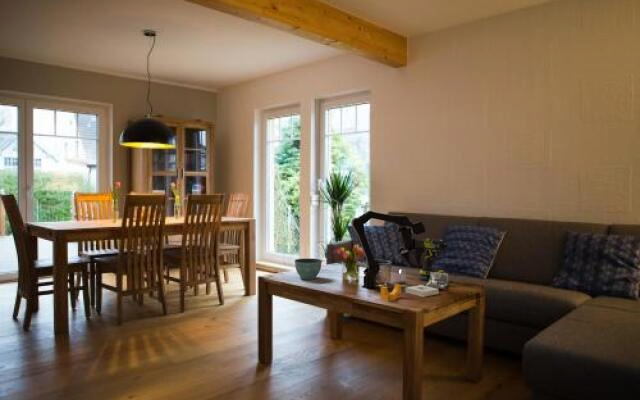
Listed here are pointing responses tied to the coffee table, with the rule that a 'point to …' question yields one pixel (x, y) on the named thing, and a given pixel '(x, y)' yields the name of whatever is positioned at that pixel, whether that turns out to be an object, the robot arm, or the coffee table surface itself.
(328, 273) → the coffee table surface
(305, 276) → the flower pot
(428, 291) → the rack block
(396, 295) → the pipe clamp
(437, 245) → the power drill
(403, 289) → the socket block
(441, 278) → the phone holder
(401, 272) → the steel peg
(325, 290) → the coffee table surface
